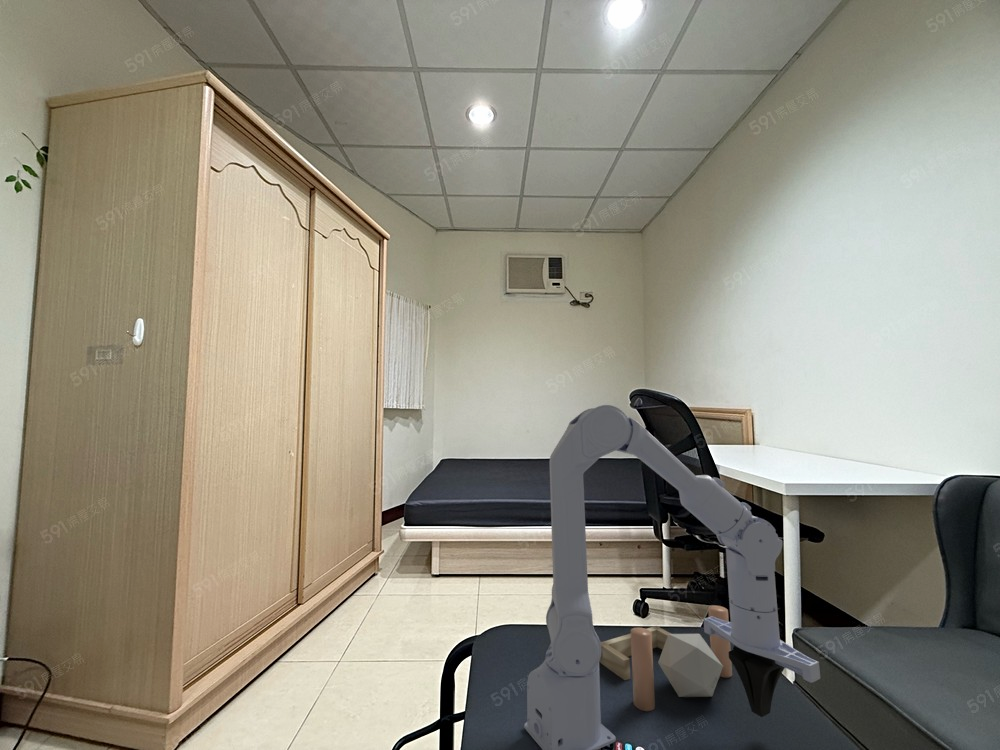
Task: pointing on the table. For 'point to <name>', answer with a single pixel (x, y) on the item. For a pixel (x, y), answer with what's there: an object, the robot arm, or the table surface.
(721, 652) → the trap post far
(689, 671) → the die
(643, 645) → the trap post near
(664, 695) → the table surface
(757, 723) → the table surface
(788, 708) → the table surface
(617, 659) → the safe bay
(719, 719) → the table surface
